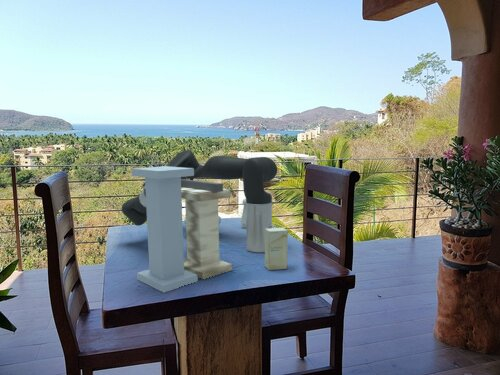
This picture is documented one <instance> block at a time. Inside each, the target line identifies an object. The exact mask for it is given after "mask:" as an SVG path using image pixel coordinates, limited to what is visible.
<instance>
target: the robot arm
mask: <svg viewBox="0 0 500 375" xmlns="http://www.w3.org/2000/svg"><path fill="white" fill-rule="evenodd" d="M167 166H169V167H182V168H194V176H186V177H181V179H214V180H222V181H223V180H224V181H225V180H227V181H228V180H229V181H230V180H238V179H239V180H240V179H242V186H243V194H244V197H245V199H246V228H245V229H246V251H248V252H252V253H265V229H268V228H273V197H272V194H271V193H269V192H267V191H266V190H265V188H264V183H268V182H270V181H272V180H274V179H275V177H276V176H277V173H278V167H277V164H276V162H275V161H274V160H273V159H271V158H270V157H268V156H255V157H249V158H243V157H235V156H230V155H229V156H228V155H213V156H212V157H210V158H208V159H207V161H206V162H205V163H204V164H203V165H202V164H200V162H199V160H198V159H197V158H196V155H195V154H194V152H193V151H192V150H190V149H185V150H181V151H180V152H178V153H177V154H176V155H175V156H174V157H173V158H172V159H171V161H170V162H169V163H168V164H167ZM121 212H122V214H123V215H124V216H125V217H126V218H127V219H128V220H129V221H130V222H131V223H132V224H133V225H135V226H138V227H139V226H142V225H144V224H145V223H147V210H146V189H145V182H144V183H143V184H142V191H141V192H140V193H139V194H138V196H136V197H132V198H129V199H128V200H127V201H125V202H124V203H123V204H122V205H121Z"/></svg>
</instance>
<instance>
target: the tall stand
mask: <svg viewBox="0 0 500 375" xmlns="http://www.w3.org/2000/svg"><path fill="white" fill-rule="evenodd" d="M131 176H133V177H139V178H140V177H141V178H144V180H145V181H144V183H145V189H146V210H147V221H146V227H147V228H146V229H147V244H148V246H147V248H148V269H146V270H141V271H139V272H137V273H136V276H137V281H140V282H142V283H144V284H146V285H147V286H150V287H152V288H153V289H156V290H157V291H159V292H161V293H164V294H165V293H167V292H169V291H172V290H173V291H174V290H175V289H179V287H180V288H182V287H181V286H183V287H185V286H184V285H186V286H188V284H189V285H192V284H194V282H195V283H198V282H197V281H198V277H197V274H194V273H192V272H189V271H187V270H184V260H185V256H184V255H185V254H184V232H183V228H184V227H183V206H182V205H183V204H182V199H183V198H181V188H182V187H181V177H186V176H194V168H182V167H169V166H168V165H164V166H163V165H162V166H151V167H150V166H149V167H134V168H133V167H132V168H131ZM191 283H192V284H191Z"/></svg>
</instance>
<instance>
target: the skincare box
mask: <svg viewBox="0 0 500 375" xmlns="http://www.w3.org/2000/svg"><path fill="white" fill-rule="evenodd" d="M288 232H289V230H288V229H287V228H284V227H272V228H268V229H265V252H264V267H265V268H266V269H267V270H268V271H274V270H276V271H277V270H284V269H285V270H286V269H288Z"/></svg>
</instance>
